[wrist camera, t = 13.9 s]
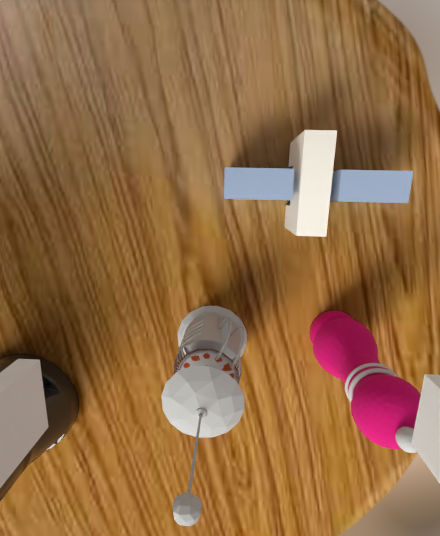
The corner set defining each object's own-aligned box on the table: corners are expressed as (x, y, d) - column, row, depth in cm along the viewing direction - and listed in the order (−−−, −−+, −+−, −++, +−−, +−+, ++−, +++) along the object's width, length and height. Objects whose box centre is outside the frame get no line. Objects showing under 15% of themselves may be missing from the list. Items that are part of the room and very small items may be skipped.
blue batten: (226, 197, 39) (224, 198, 31) (226, 172, 38) (224, 167, 30) (372, 200, 38) (408, 203, 30) (376, 175, 37) (413, 170, 30)
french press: (164, 348, 44) (81, 538, 20) (205, 281, 42) (167, 405, 17) (224, 381, 45) (213, 602, 21) (268, 317, 42) (313, 484, 18)
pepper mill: (317, 299, 41) (390, 393, 22) (368, 315, 42) (484, 423, 22) (297, 346, 43) (349, 471, 24) (346, 361, 43) (437, 498, 24)
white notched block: (308, 227, 39) (326, 236, 32) (284, 227, 39) (296, 235, 32) (315, 143, 37) (337, 130, 29) (290, 143, 37) (305, 129, 29)
